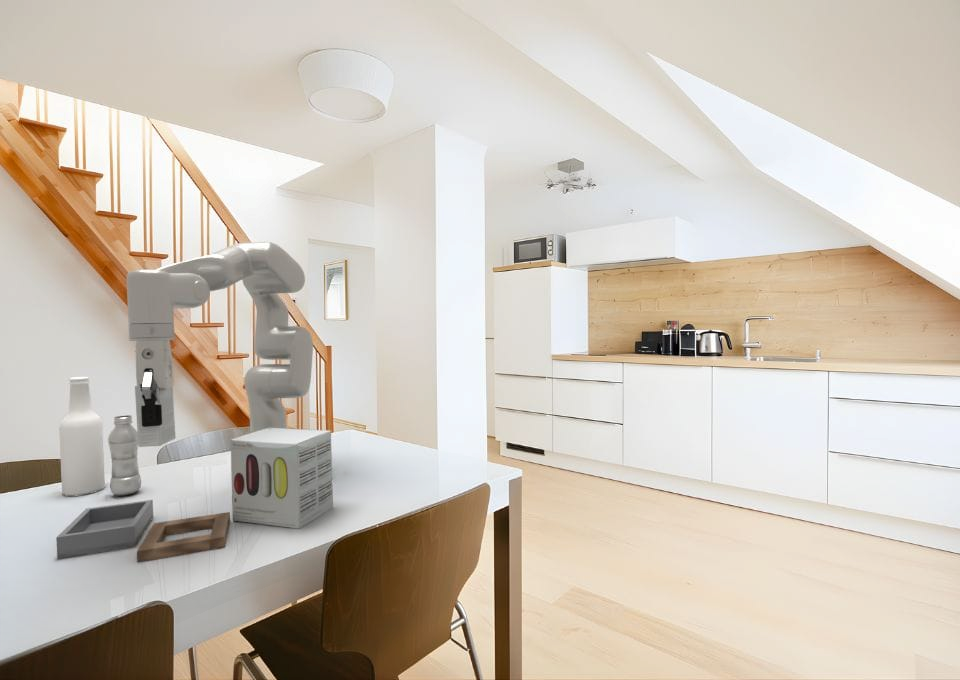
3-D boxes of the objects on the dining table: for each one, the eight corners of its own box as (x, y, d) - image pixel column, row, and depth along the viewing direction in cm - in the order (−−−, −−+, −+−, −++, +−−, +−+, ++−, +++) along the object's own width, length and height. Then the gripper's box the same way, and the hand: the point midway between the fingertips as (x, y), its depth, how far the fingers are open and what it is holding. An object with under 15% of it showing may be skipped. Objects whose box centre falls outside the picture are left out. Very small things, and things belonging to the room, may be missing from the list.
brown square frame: (230, 521, 107) (229, 511, 107) (224, 547, 94) (224, 536, 94) (154, 532, 102) (153, 523, 101) (137, 562, 89) (136, 551, 89)
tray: (153, 517, 110) (152, 499, 110) (135, 546, 95) (134, 525, 95) (87, 527, 105) (86, 508, 105) (57, 559, 91) (56, 537, 90)
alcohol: (81, 485, 134) (77, 375, 133) (113, 485, 134) (108, 375, 133) (52, 497, 125) (47, 379, 124) (86, 496, 125) (81, 378, 124)
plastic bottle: (125, 499, 122) (122, 419, 122) (103, 497, 124) (100, 418, 123) (148, 490, 129) (145, 414, 128) (126, 489, 130) (123, 414, 130)
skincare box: (154, 440, 101) (151, 381, 101) (176, 439, 102) (173, 381, 101) (136, 447, 95) (133, 385, 95) (160, 446, 96) (157, 384, 95)
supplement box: (230, 522, 106) (227, 439, 106) (271, 501, 119) (269, 426, 119) (299, 529, 102) (297, 442, 101) (335, 506, 114) (332, 429, 114)
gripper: (166, 333, 91) (171, 428, 92) (180, 332, 107) (183, 413, 108) (117, 334, 88) (122, 433, 89) (139, 333, 104) (143, 417, 105)
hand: (156, 421), depth 98 cm, fingers closed on skincare box, 6 cm apart
